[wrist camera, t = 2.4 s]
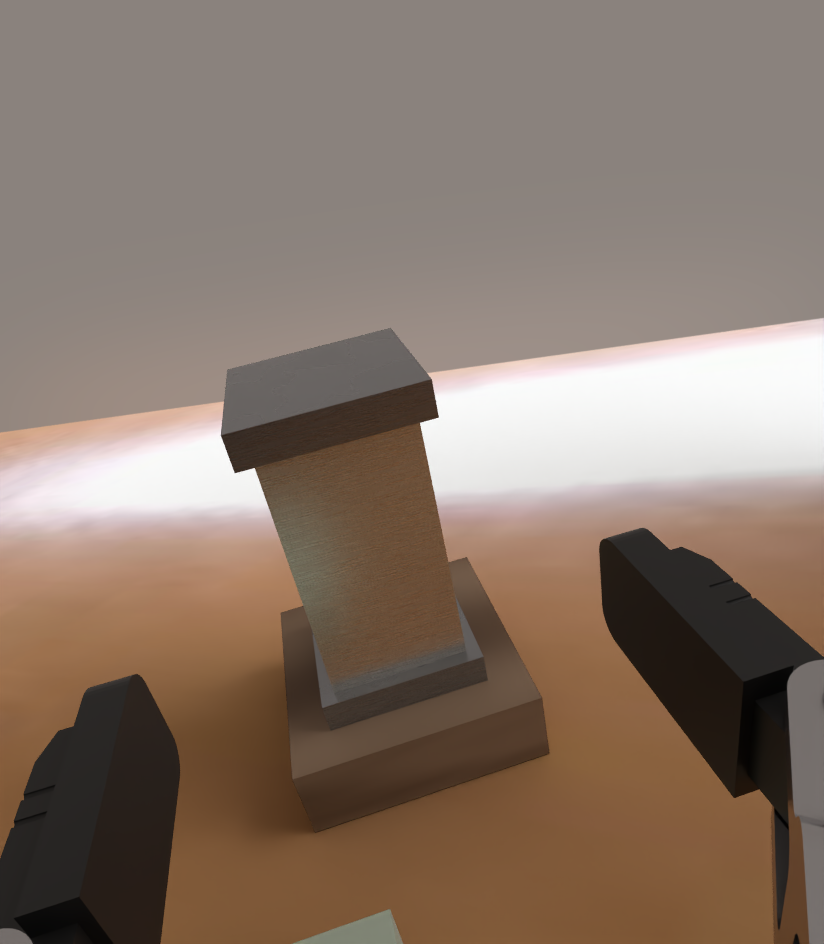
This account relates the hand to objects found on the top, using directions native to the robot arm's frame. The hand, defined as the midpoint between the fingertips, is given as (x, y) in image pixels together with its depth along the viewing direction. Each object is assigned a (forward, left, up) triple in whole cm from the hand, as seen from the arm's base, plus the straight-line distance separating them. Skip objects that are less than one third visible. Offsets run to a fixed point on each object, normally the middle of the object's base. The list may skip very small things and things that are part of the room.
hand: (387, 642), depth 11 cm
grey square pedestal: (-9, -7, -11) cm, 16 cm away
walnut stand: (-9, -7, -14) cm, 18 cm away
